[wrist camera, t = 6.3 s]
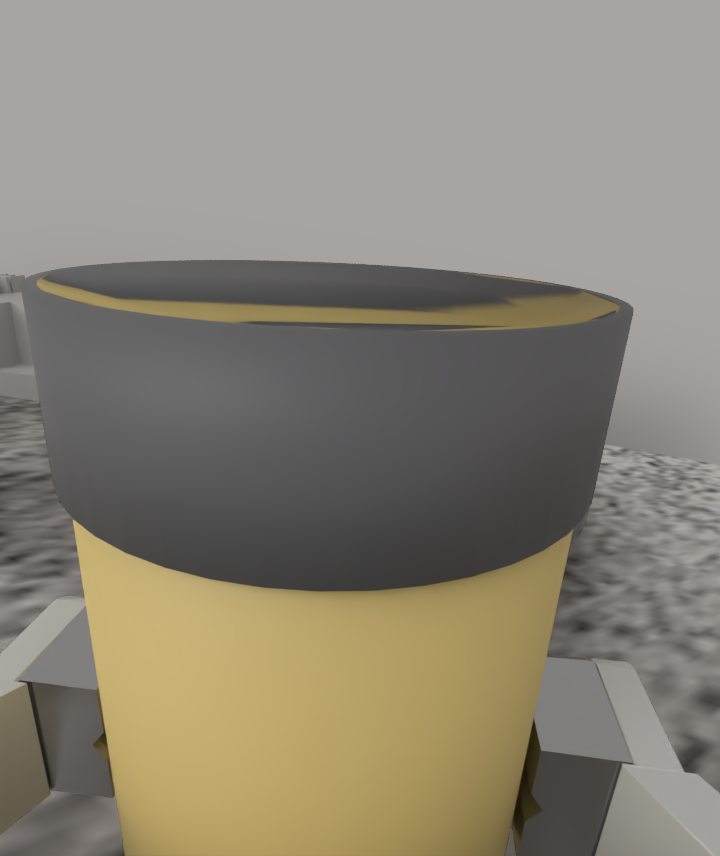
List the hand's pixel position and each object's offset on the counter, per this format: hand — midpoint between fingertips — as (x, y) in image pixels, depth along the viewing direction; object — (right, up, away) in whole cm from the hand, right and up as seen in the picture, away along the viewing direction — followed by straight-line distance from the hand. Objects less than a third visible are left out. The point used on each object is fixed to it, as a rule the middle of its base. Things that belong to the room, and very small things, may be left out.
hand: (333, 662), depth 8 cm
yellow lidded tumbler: (0, -6, +1) cm, 7 cm away
